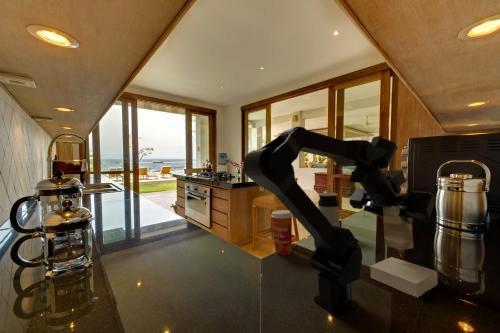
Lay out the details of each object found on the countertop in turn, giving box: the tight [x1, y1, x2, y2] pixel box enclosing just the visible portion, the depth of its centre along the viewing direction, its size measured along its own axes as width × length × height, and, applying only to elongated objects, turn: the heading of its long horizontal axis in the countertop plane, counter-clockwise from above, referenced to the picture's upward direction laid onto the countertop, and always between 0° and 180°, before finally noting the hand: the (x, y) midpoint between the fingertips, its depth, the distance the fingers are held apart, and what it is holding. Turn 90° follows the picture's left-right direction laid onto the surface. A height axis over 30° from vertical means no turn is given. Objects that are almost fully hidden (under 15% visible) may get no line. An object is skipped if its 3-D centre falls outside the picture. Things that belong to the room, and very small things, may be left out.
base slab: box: [370, 256, 439, 299], centre depth 51 cm, size 10×10×3 cm
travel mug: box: [317, 192, 341, 227], centre depth 86 cm, size 8×8×18 cm
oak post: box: [382, 205, 414, 251], centre depth 55 cm, size 4×4×13 cm
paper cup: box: [270, 209, 294, 255], centre depth 72 cm, size 8×8×14 cm
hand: (400, 221), depth 56 cm, fingers closed on oak post, 5 cm apart
